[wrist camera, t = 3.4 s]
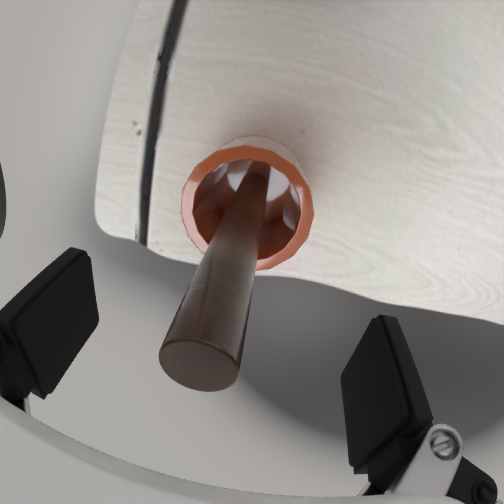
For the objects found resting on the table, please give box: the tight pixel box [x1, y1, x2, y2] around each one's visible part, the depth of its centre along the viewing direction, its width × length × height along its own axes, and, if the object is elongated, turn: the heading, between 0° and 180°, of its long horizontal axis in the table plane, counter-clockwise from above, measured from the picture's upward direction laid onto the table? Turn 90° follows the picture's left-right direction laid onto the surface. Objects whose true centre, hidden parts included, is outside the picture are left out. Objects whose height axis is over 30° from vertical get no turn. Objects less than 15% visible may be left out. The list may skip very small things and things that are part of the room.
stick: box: [159, 173, 268, 392], centre depth 15 cm, size 2×2×18 cm
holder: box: [181, 136, 314, 271], centre depth 21 cm, size 8×8×7 cm
